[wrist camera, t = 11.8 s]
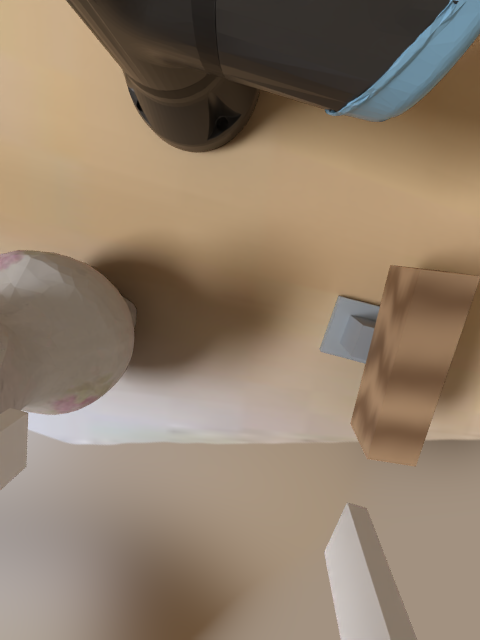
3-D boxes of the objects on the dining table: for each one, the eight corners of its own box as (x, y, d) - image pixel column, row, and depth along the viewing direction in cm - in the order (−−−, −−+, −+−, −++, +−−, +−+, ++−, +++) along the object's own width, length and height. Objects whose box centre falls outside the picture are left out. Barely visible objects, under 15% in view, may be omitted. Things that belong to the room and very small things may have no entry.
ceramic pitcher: (104, 401, 46) (-51, 580, 22) (-2, 330, 42) (-319, 451, 19) (180, 306, 40) (82, 410, 17) (65, 217, 37) (-261, 186, 13)
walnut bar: (390, 265, 29) (420, 269, 24) (438, 270, 29) (480, 276, 23) (350, 423, 35) (367, 458, 29) (390, 429, 34) (415, 466, 29)
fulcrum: (338, 295, 37) (352, 304, 31) (441, 322, 36) (474, 336, 30) (319, 349, 39) (328, 366, 33) (416, 374, 38) (442, 397, 33)
